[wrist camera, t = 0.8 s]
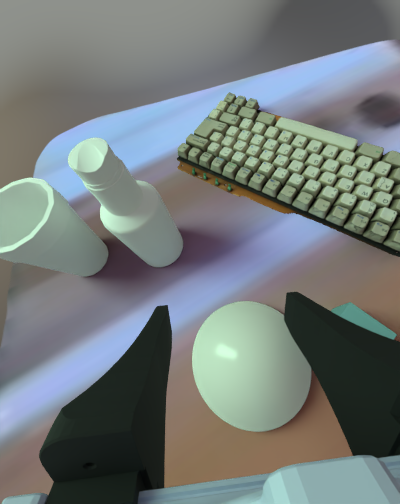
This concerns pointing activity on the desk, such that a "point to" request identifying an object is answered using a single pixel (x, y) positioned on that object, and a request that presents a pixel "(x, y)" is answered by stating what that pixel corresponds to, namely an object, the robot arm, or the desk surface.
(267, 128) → the mechanical keyboard
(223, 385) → the dish
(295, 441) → the desk surface
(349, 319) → the teal block
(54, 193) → the foam cup
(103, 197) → the spray bottle
